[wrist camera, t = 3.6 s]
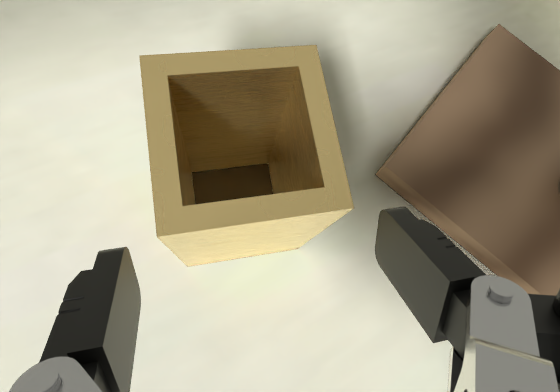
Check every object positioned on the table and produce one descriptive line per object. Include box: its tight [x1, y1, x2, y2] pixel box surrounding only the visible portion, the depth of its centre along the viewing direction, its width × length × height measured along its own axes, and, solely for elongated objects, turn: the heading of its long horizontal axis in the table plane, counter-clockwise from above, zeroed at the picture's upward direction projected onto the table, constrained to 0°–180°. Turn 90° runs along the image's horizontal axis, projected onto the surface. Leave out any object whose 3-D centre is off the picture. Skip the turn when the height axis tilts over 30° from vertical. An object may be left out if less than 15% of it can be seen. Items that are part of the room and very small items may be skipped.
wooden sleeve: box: [140, 45, 354, 267], centre depth 17 cm, size 6×6×10 cm
